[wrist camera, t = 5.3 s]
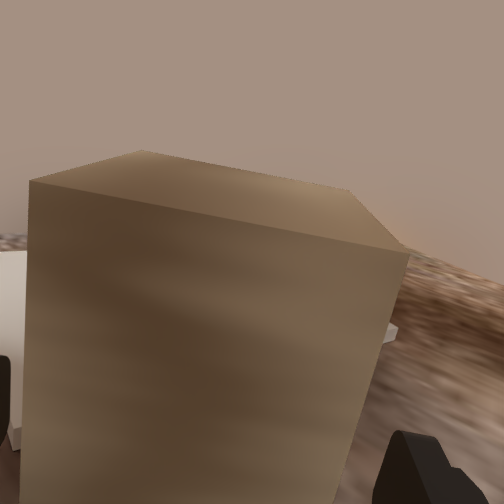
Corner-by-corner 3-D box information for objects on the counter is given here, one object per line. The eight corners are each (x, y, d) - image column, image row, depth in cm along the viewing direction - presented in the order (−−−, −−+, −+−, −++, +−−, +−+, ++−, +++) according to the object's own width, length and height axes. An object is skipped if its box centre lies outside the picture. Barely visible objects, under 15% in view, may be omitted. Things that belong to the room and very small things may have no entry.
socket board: (245, 251, 44) (251, 217, 43) (394, 340, 31) (408, 295, 30) (-42, 267, 29) (-43, 217, 28) (13, 450, 16) (15, 369, 15)
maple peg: (255, 558, 14) (348, 190, 10) (245, 785, 9) (410, 254, 6) (101, 529, 14) (141, 150, 10) (11, 743, 9) (29, 180, 6)
